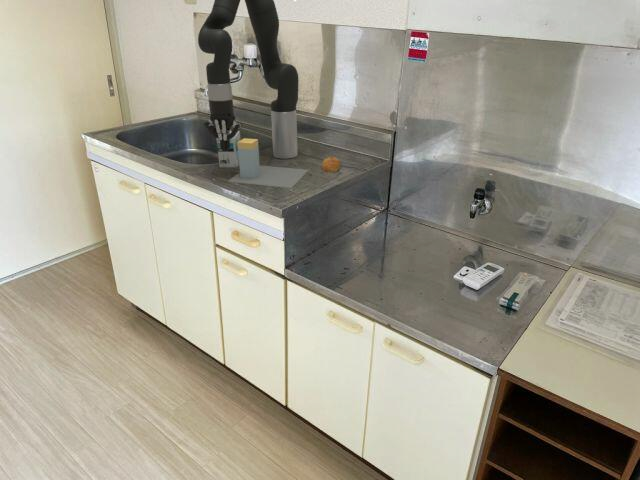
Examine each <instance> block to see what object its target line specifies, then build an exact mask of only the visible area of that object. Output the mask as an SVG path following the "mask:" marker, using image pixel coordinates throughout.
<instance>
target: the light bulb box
mask: <svg viewBox="0 0 640 480" xmlns="http://www.w3.org/2000/svg"><path fill="white" fill-rule="evenodd" d="M231 132H232V130H231V131H230V133H231ZM215 139H216V147H217V155H218V163H219V164H218V165H219V166H218V167H219V168H238V167H240V166H239V155H238V143H237V142H239V141H240V140H242V138H241V131H240V130H239V131H238V132H237V134H236V135H235V137H233V138H232V139H230V140H229V141H230V149H229V150H228V151H222V149H221V148H220V140H219V139H218V138H215Z"/></svg>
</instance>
